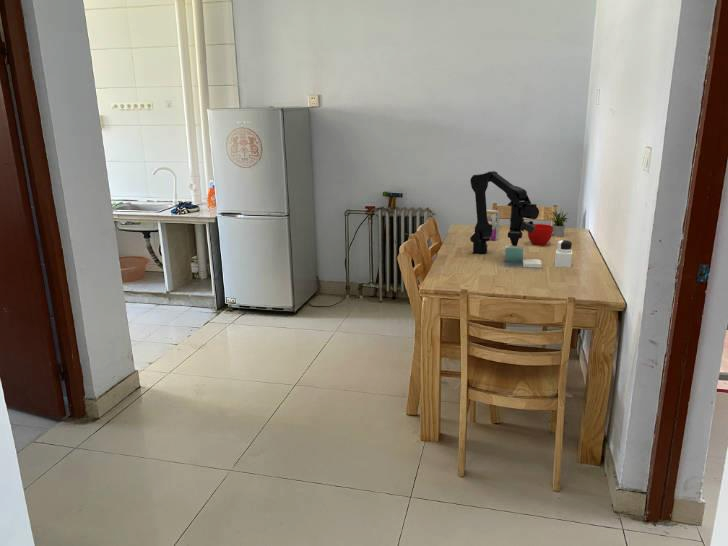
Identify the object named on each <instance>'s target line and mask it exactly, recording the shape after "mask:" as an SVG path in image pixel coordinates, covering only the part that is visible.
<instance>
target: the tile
mask: <svg viewBox="0 0 728 546" xmlns="http://www.w3.org/2000/svg"><path fill="white" fill-rule="evenodd" d="M504 252H505V254H504V255H505V256H504V258H505V259H504V262H505V261H512V262H523V259H524V246H522V245H517V246H512V245H505V251H504Z"/></svg>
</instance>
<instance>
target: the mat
mask: <svg viewBox="0 0 728 546" xmlns="http://www.w3.org/2000/svg"><path fill="white" fill-rule="evenodd" d="M503 267H505V268H506V267H507V268H518V269H519V268H520V269H525V268H524V267H523V262H512V261H505V260H504V264H503ZM530 269H532V270H533V269H534V270H535V269H536V270H540V269H541V268H530Z"/></svg>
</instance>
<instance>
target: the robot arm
mask: <svg viewBox="0 0 728 546" xmlns="http://www.w3.org/2000/svg"><path fill="white" fill-rule="evenodd" d="M469 182H470V186H471V189H472V191H473V192H474V196H475V208H476V209H475V211H476V224H475V227H474V233H473V234H472V235H471V236H470V237H469V238H470V242H471V243H473V244H472V253H471V254H472V255H475V254H478V255H486V254H488V245H489V244H488V242H490V241H491V240H490V237H491V236H492V232H493V231H492V224H489V223H488V221H487V210H488V209H487V198H486V191H487V189H488V186H489V183H490V182H491V183H492V184H494V185H495V186H496V187H498V188H499V189H500V190H502V192H504V193H505V194H506V197H507V198H508V200H510V202H508V203H507V206H508V207H510V217H509V218H510V219H509V222H510V223H509V231H508V232H507V238H509V240H510V243H511V246H518V242H519V240H520V239H522V237H523V232H524V231H526V232H527V233H528V232H529V233H533V231H534V229H535V225H533V224H534V221H532V220H537V219H538V217H539V216H540V209H539V208H538V207H537V203H532V201H531V199H530V198H529V195H528V193H527V190H526V189H524V188H522V187H521V186H516V185H514V184H512V183H511V182H509V181H508V180H507V179H506V178H504V177H503V176H501V175H500V174H499V173H498V172H497V171H495V170H492V171H487V172H485V173H479V174H473V175H472V176H471V177H470V181H469ZM525 219H530V220H529V221H528V222H527V221H525Z"/></svg>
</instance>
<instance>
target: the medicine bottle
mask: <svg viewBox="0 0 728 546" xmlns="http://www.w3.org/2000/svg"><path fill="white" fill-rule="evenodd" d="M572 245H573V244H572V241H569V240H566V239H564V240H563V239H561V240H558V241H557V247H556V248H557V249H555V255H554V256H555V257H554V267H555V268H558V267H559V268H566V269H567V268H568V269H569V268H570V269H571V268H572V260H573V250H572Z"/></svg>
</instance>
